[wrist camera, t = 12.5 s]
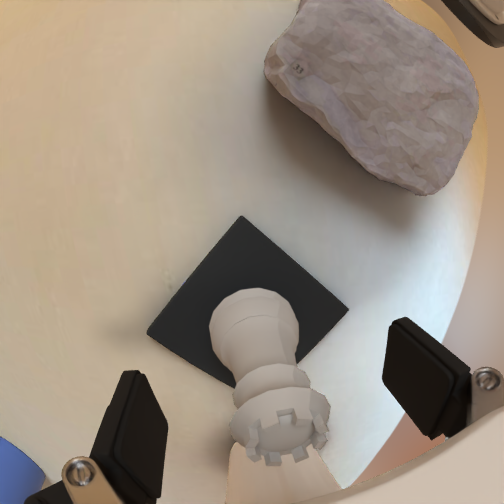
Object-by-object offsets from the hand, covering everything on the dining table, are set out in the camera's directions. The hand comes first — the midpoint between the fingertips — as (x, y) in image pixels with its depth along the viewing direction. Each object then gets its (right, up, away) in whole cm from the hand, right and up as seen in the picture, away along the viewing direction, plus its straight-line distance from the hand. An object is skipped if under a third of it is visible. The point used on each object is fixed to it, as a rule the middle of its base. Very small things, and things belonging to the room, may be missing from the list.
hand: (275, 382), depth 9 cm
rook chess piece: (-1, +1, +5) cm, 5 cm away
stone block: (+6, +14, +4) cm, 15 cm away
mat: (-1, +1, +6) cm, 6 cm away
